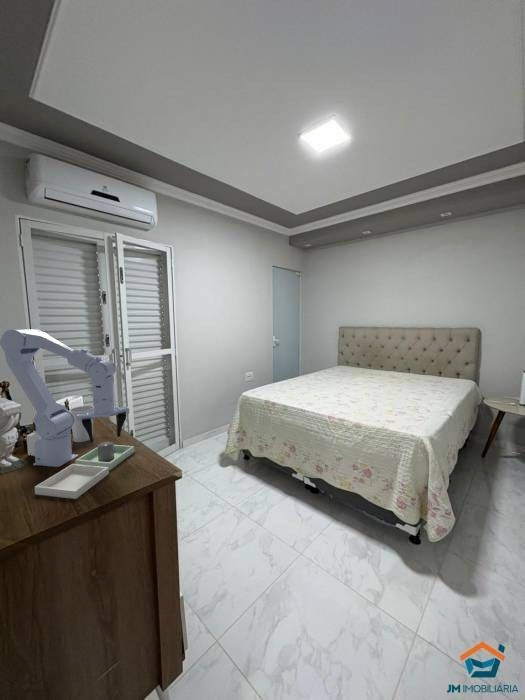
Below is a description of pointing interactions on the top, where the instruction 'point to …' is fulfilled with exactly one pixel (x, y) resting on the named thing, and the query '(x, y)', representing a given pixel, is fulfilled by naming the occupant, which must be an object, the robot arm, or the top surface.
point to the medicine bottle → (32, 441)
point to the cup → (80, 424)
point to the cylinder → (106, 451)
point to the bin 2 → (119, 455)
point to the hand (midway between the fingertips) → (105, 438)
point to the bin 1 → (72, 481)
